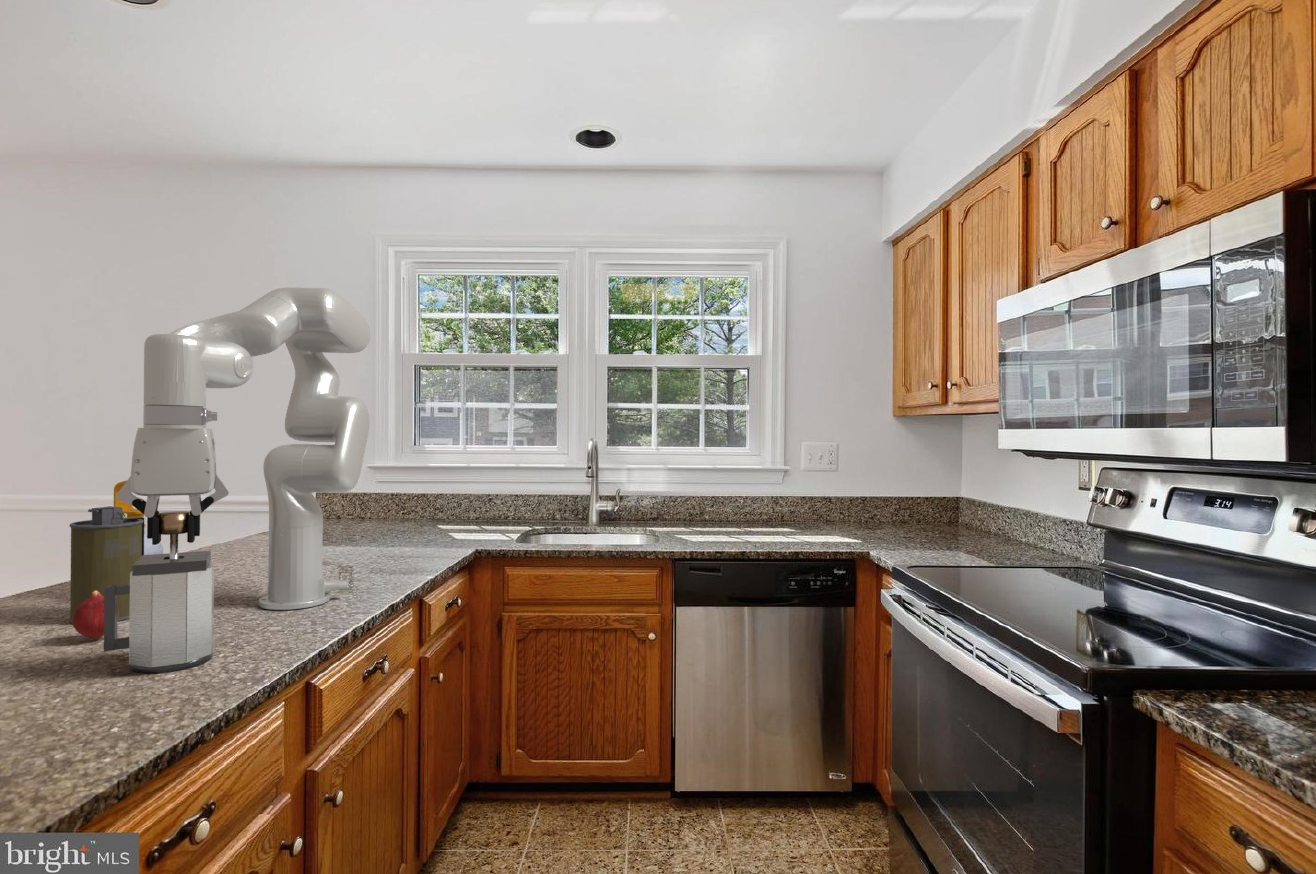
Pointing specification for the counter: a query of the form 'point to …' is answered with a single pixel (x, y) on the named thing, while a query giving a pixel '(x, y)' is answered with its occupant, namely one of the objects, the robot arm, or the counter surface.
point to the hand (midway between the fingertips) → (174, 541)
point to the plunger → (173, 528)
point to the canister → (104, 555)
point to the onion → (90, 617)
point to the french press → (165, 612)
